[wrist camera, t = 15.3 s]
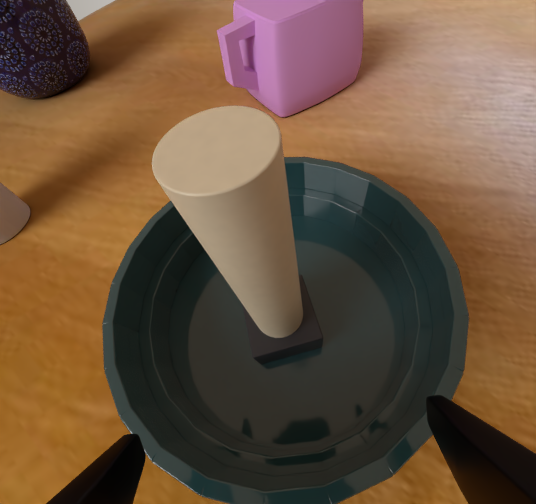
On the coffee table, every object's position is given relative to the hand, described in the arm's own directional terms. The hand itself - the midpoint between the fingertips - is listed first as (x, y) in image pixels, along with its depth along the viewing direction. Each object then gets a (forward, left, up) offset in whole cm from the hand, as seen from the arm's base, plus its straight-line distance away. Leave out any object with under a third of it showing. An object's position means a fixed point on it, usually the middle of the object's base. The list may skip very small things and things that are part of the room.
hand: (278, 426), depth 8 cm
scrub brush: (+4, +4, -8) cm, 9 cm away
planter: (+14, +59, -8) cm, 61 cm away
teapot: (+29, +20, -8) cm, 36 cm away
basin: (+5, +5, -8) cm, 11 cm away
